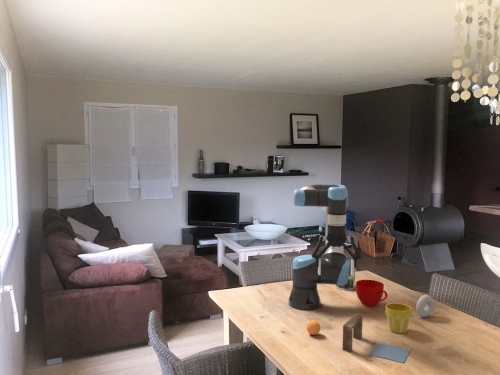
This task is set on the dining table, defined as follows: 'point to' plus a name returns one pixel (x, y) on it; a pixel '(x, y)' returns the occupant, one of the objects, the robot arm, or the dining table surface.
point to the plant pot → (398, 316)
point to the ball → (313, 327)
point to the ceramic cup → (370, 292)
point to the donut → (421, 304)
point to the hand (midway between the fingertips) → (335, 274)
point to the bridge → (352, 331)
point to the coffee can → (350, 283)
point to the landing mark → (390, 352)
